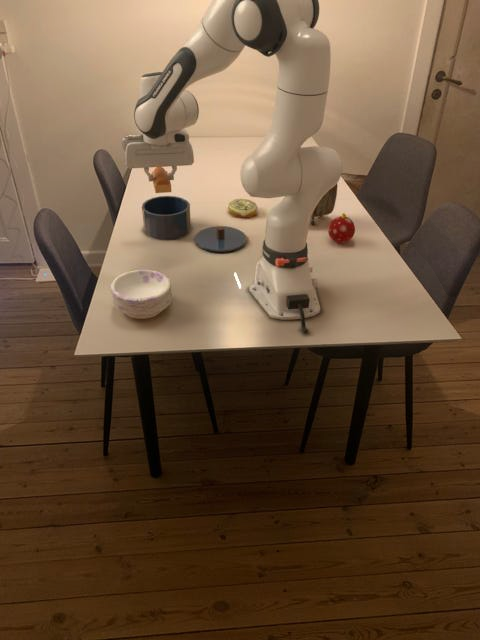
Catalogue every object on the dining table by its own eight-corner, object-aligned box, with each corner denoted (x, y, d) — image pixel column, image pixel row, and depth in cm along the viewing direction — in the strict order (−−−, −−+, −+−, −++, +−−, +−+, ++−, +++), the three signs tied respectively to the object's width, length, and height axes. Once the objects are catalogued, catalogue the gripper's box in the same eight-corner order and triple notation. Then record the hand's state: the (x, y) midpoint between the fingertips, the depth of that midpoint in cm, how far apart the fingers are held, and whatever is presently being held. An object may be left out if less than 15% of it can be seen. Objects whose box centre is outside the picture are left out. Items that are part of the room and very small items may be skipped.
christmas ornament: (333, 249, 157) (337, 220, 151) (322, 236, 163) (326, 209, 157) (357, 246, 159) (362, 217, 153) (345, 234, 165) (350, 206, 159)
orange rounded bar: (171, 192, 146) (170, 179, 143) (155, 193, 145) (154, 180, 142) (167, 178, 154) (166, 165, 152) (152, 179, 153) (151, 166, 151)
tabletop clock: (323, 214, 177) (333, 145, 162) (334, 225, 170) (345, 154, 155) (286, 219, 173) (292, 149, 158) (296, 230, 166) (304, 158, 151)
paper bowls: (174, 292, 135) (172, 268, 130) (170, 326, 123) (168, 300, 118) (119, 292, 134) (115, 267, 129) (109, 326, 122) (104, 300, 117)
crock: (194, 237, 161) (193, 213, 156) (145, 241, 158) (143, 217, 153) (187, 217, 173) (186, 194, 168) (142, 220, 170) (140, 197, 165)
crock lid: (251, 251, 154) (251, 237, 152) (199, 255, 151) (198, 242, 148) (240, 227, 167) (240, 214, 165) (191, 231, 164) (191, 218, 161)
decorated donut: (246, 221, 171) (246, 211, 169) (222, 213, 176) (222, 204, 173) (262, 211, 178) (263, 202, 175) (238, 204, 183) (238, 194, 180)
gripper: (121, 138, 135) (127, 186, 144) (194, 135, 139) (195, 182, 148) (120, 131, 140) (126, 178, 149) (191, 129, 144) (192, 174, 153)
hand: (161, 180), depth 148 cm, fingers closed on orange rounded bar, 5 cm apart
